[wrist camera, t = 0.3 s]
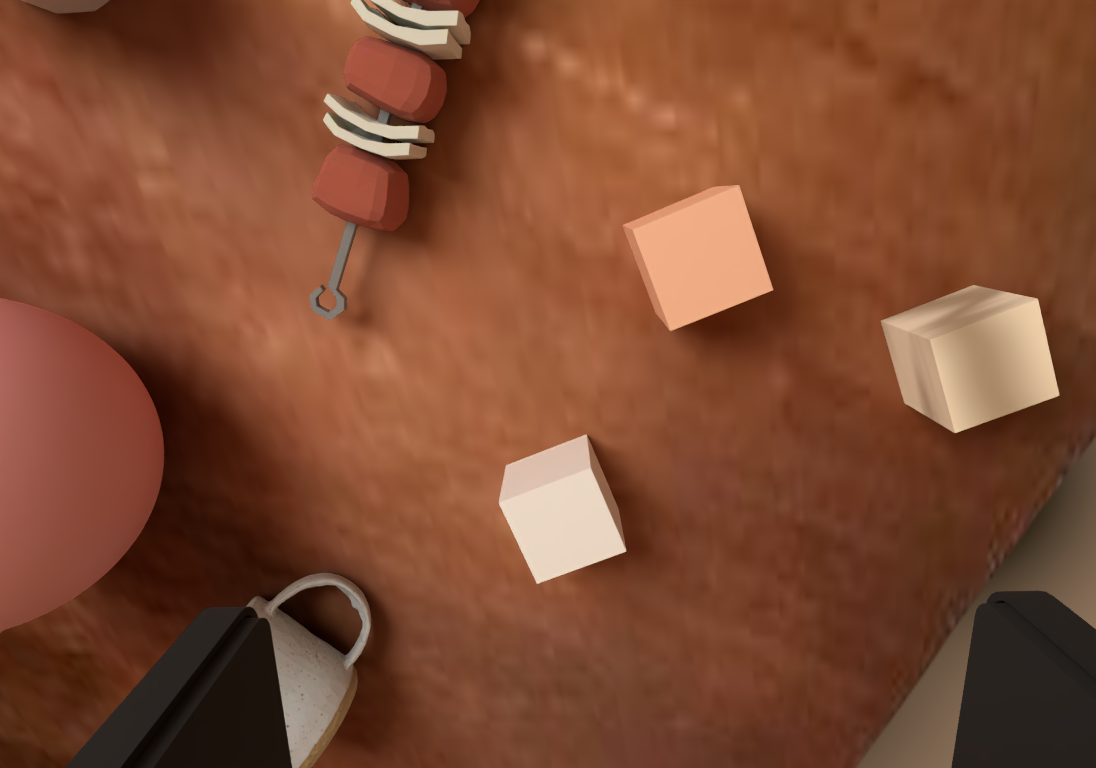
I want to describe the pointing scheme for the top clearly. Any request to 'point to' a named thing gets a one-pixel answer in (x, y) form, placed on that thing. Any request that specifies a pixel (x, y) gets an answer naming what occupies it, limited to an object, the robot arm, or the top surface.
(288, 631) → the ceramic mug
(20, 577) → the balloon
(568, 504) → the cream block
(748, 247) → the terracotta block
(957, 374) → the birch block
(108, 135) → the top surface
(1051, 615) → the robot arm
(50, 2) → the cup
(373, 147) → the skewer
